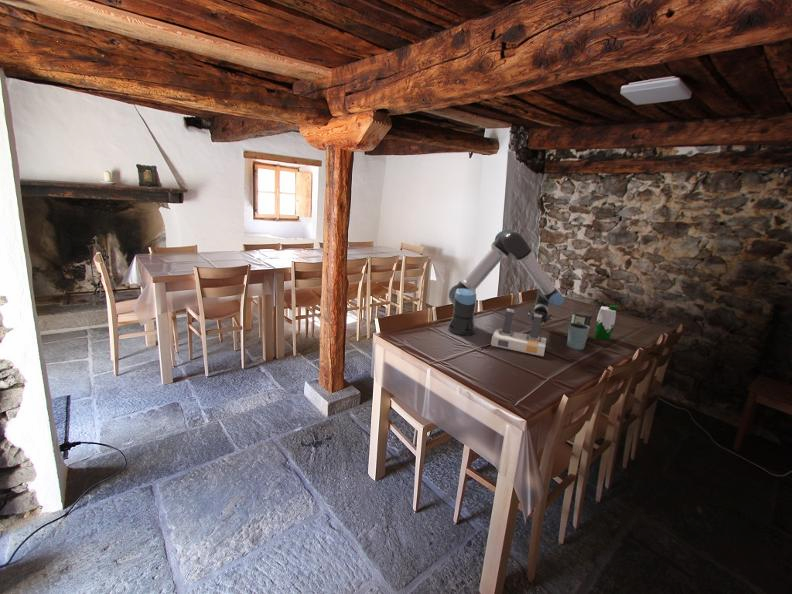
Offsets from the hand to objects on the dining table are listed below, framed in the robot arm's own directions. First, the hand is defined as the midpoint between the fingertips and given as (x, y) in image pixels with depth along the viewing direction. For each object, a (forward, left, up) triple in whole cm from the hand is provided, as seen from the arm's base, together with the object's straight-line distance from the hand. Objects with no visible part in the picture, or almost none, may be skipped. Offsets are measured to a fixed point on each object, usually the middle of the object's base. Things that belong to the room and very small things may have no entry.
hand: (538, 323), depth 202 cm
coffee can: (+22, +31, -13) cm, 40 cm away
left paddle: (-15, -6, -6) cm, 17 cm away
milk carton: (+35, +36, -13) cm, 52 cm away
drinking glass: (+20, +11, -13) cm, 26 cm away
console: (-8, -7, -12) cm, 16 cm away
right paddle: (-1, -6, -6) cm, 9 cm away
